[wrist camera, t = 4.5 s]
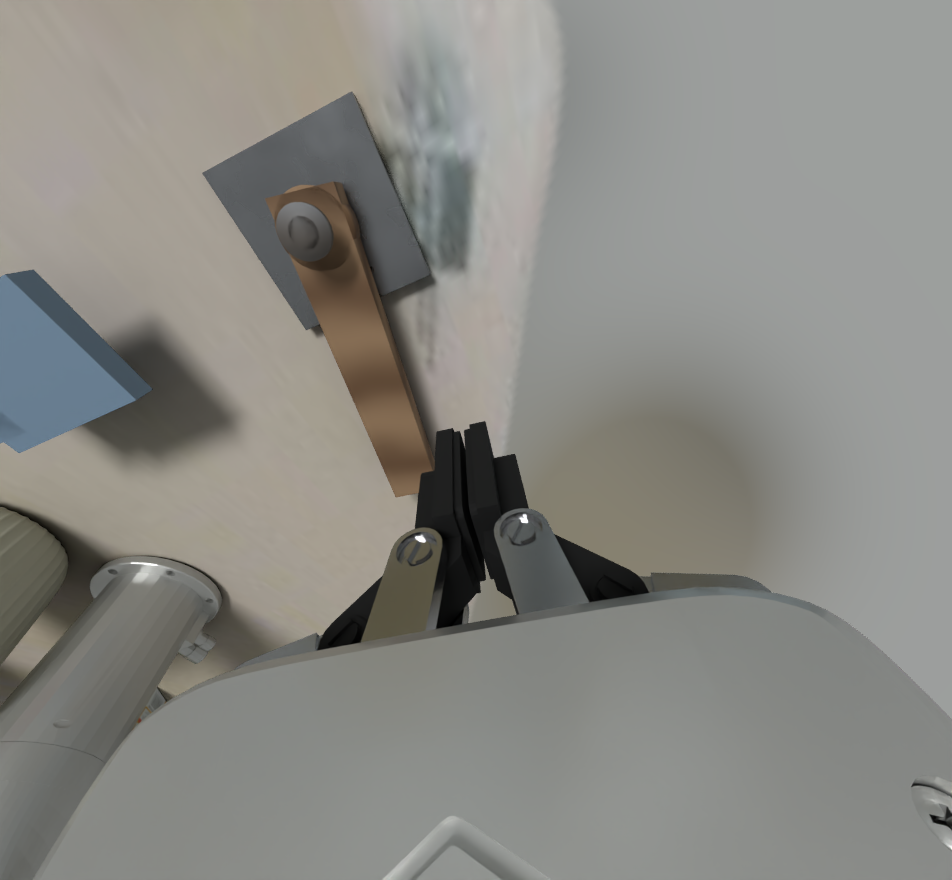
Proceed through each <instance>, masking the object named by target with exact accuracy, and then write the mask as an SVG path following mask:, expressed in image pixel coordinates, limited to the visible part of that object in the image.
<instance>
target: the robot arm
mask: <svg viewBox="0 0 952 880" xmlns="http://www.w3.org/2000/svg"><path fill="white" fill-rule="evenodd" d="M464 436H465V447H464V443H463V440H462V436H461V433H460V431H457V432H454V430H453V428H451V429H447V430H442V431H437V433H436V451H435V469H434V471H430V472H425V473H422V474H421V477H420V485H419V495H418V504H417V514H416V523H415V529H413V530H411V531H409V532H407V533H405V534H404V535H403V536H401V537H400V538H399V539H398V540H397V541H396V543H395V544H394V546H393V548H392V550H391V553H390V556H389V559H388V562H387V565H386V568H385V571H384V574H383V576H382V577H381V578H380V579H379V580H377V581H376V582H375V583H374V584H373V585H372V586H371V587H370V588H369V589H368V590H367V591H366V592H365V593H364V594H363V595H361V596H360V597H359V598H358V599H357V600H356V601H355V602H354V603H353V604H352V605H351V606H350V607H349V608H348V609H347V610H346V611H344V612H343V613H342V614H341V615H340V616H339V617H338V618H337V619H336V620H335V621H334V622H333V623H332V624H331V625H330V626H329V627H328V628H327V630H326V631H325V632H324V634H323V635H321V636H319V635H318V634H317V633H315V634H312V635H310V636H307V637H305V638H302V639H300V640H297V641H295V642H293V643H290V644H288V645H285V646H283V647H280V648H278V649H275V650H273V651H270V652H268V653H266V654H263V655H261V656H258V657H256V658H253V659H251V660H248V661H246V662H245V663H243V664H241V665H239V666H238V667H237V668H235V669H234V670H233V671H230V672H227V673H224V674H221V675H218V676H216V677H214V678H212V679H209V680H207V681H205V682H202V683H200V684H198V685H196V686H194V687H192V688H190V689H189V690H187V691H185V692H183V693H181V694H180V695H178V696H176V697H174V698H172V699H171V700H169V701H168V702H166V703H165V704H163V705H161V706H160V707H159V708H157V709H156V710H155V711H153V712H152V713H150V714H149V715H148V716H147V717H146V718H144V719H143V720H142V721H141V722H140V723H139V724H138V725H137V726H136V727H135V728H134V729H133V727H134V726H135V724H136V722H137V721H138V719H139V717H140V715H141V714H142V712H143V710H144V709H145V707H146V705H147V704H148V702H149V700H150V698H151V697H152V695H153V693H154V692H155V690H156V688H157V687H158V685H159V683H160V682H161V680H162V678H163V677H164V675H165V673H166V671H167V670H168V668H169V666H170V665H171V663H172V661H173V660H174V658H175V656H176V655H177V653H179V654H181V655H182V656H183V657H184V658H186V659H188V660H189V661H191V662H193V663H195V664H196V663H199V662H200V661H202V660H203V659H204V658H205V656H206V655H207V653H208V651H209V650H211V649H212V648H213V647H214V645H215V644H216V639H214V638H212V637H211V636H209V635H206V634H205V633H203V629H202V628H203V626H204V624H206V623H208V622H210V621H211V620H212V619H213V618H214V617H215V616H216V614H217V613H218V611H219V609H220V607H221V604H222V597H221V593H220V591H219V590H218V588H217V586H216V585H215V584H214V583H213V582H212V581H211V580H210V579H209V578H208V577H206V576H205V575H204V574H202V573H201V572H199V571H197V570H195V569H193V568H191V567H189V566H187V565H184V564H182V563H179V562H175V561H172V560H169V559H163V558H158V557H149V556H130V557H124V558H119V559H115V560H112V561H110V562H108V563H106V564H105V565H103V566H102V567H101V568H100V569H99V570H98V571H97V572H96V573H95V574H94V575H93V577H92V579H91V580H90V591H91V594H92V596H93V597H94V600H93V601H92V603H91V604H90V605H89V606H88V607H87V608H86V609H85V611H84V612H83V613H82V614H81V615H80V616H79V617H78V619H77V620H76V621H75V622H74V623H73V624H72V625H71V626H70V628H69V629H68V630H67V631H66V632H65V633H64V634H63V636H62V637H61V638H60V639H59V640H58V641H57V642H56V644H55V645H54V646H53V647H52V648H51V649H50V650H49V652H48V653H47V654H46V655H45V656H44V657H43V658H42V660H41V661H40V662H39V663H38V664H37V665H36V666H35V668H34V669H33V670H32V671H31V672H30V673H29V674H28V676H27V677H26V678H25V679H24V680H23V681H22V682H21V683H20V685H19V686H18V687H17V688H16V689H15V690H14V691H13V693H12V694H11V695H10V696H9V697H8V698H7V699H6V701H5V702H4V703H3V704H2V705H1V706H0V880H952V719H951V718H950V717H949V716H948V715H947V714H946V713H945V712H944V711H943V710H942V709H941V708H940V707H939V706H938V705H937V704H936V703H935V702H934V701H933V700H932V699H931V698H930V697H929V696H928V695H927V694H926V693H925V692H924V691H923V690H922V689H921V688H920V687H919V686H918V685H917V684H916V683H915V682H914V681H913V680H912V679H911V678H910V677H909V676H908V675H907V674H906V673H905V672H904V671H903V670H902V669H901V668H900V667H899V666H897V664H895V663H894V662H893V661H892V660H891V659H890V658H889V657H888V656H887V655H886V654H885V653H884V652H883V651H881V650H880V649H879V648H878V647H877V646H876V645H875V644H873V643H872V642H871V641H870V640H869V639H868V638H866V637H865V636H864V635H863V634H861V633H860V632H859V631H858V630H856V629H855V628H854V627H852V626H851V625H850V624H848V623H847V622H846V621H844V620H842V619H841V618H839V617H838V616H836V615H834V614H833V613H831V612H829V611H828V610H826V609H823V608H821V607H819V606H816V605H814V604H812V603H810V602H806V601H803V600H800V599H797V598H793V597H789V596H785V595H781V594H777V593H772V592H771V591H770V590H769V589H767V588H766V587H765V586H763V585H762V584H761V583H759V582H757V581H755V580H753V579H750V578H748V577H744V576H738V575H720V574H719V575H718V574H683V573H651V577H642V576H638V575H636V574H635V573H633V572H632V571H630V570H629V569H627V568H624V567H622V566H620V565H618V564H616V563H614V562H612V561H610V560H608V559H605V558H604V557H601V556H599V555H597V554H595V553H593V552H591V551H589V550H587V549H585V548H582V547H580V546H578V545H576V544H574V543H571V542H570V541H567V540H565V539H563V538H561V537H559V536H557V535H555V534H554V533H553V532H552V530H551V527H550V526H549V524H548V522H547V520H546V519H545V517H544V516H543V515H542V514H540V513H539V512H537V511H535V510H532V509H529V508H528V504H527V500H526V496H525V492H524V488H523V484H522V480H521V476H520V472H519V468H518V464H517V460H516V456H515V454H511V455H507V456H502V457H497V458H494V456H493V452H492V448H491V443H490V439H489V435H488V431H487V426H486V422H485V421H484V422H479V423H475V424H470V429H467V430H464ZM484 559H485V563H486V566H487V569H488V572H489V575H490V578H491V579H494V580H495V583H496V587H497V590H498V591H500V592H501V593H503V594H504V595H506V596H507V597H509V598H510V599H512V601H513V605H514V608H515V611H516V615H513V616H508V617H502V618H496V619H490V620H485V621H480V622H474V623H468V619H469V606H468V603H469V602H470V600H471V599H472V598H473V597H474V596H475V595H476V593H481V590H480V581H485V580H486V575H485V564H484ZM132 729H133V730H132Z"/></svg>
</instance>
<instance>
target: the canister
mask: <svg viewBox="0 0 952 880" xmlns="http://www.w3.org/2000/svg"><path fill="white" fill-rule="evenodd" d="M67 569H68V557H67V554H66V553H65V549H64V547H62V546H61V543H60V541H58V540H56V539H55V537H54V535H52V534H50V533H49V532H48V531H47V529H45V528H43V527H41V526H40V525H39V524H38V523H36V522H33V521H31V520H30V519H29V518H28V517H24V516H22V515H20V514H18V513H17V512H13V511H10V510H7V509H6V508H4V507H0V665H1V664H2V663H3V661H4V660H5V659H6V658H7V657H8V655H9V654H10V653H11V652H12V650H13V649H14V648H15V646H16V645H17V644H18V643H19V641H20V640H21V639H22V638H23V636H24V635H25V634H26V633H27V631H28V630H29V629H30V627H31V626H32V625H33V624H34V622H35V621H36V620H37V618H38V617H39V616H40V614H41V613H42V612H43V610H44V609H45V608H46V607H47V605H48V604H49V603H50V601H51V600H52V599H53V597H54V596H55V594H56V593H57V591H58V590H59V588H60V587H61V585H62V583H63V582H64V580H65V577H66V574H67Z"/></svg>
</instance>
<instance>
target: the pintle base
mask: <svg viewBox="0 0 952 880" xmlns="http://www.w3.org/2000/svg"><path fill="white" fill-rule="evenodd" d="M203 175H204V176H205V178H206V180H207V181H208V183H209V184H210V186H211V187H212V189H213V190H214V192H215V193H216V195H217V196H218V198H219V199H220V201H221V202H222V204H223V205H224V207H225V208H226V210H227V211H228V213H229V214H230V216H231V217H232V219H233V220H234V222H235V223H236V225H237V226H238V228H239V229H240V231H241V232H242V234H243V235H244V237H245V238H246V240H247V241H248V243H249V244H250V246H251V247H252V249H253V251H254V252H255V254H256V255H257V257H258V258H259V260H260V261H261V263H262V264H263V266H264V267H265V269H266V270H267V272H268V273H269V275H270V276H271V278H272V279H273V281H274V282H275V284H276V285H277V287H278V288H279V290H280V291H281V293H282V294H283V296H284V297H285V299H286V300H287V302H288V303H289V305H290V306H291V308H292V309H293V311H294V312H295V314H296V315H297V317H298V318H299V320H300V321H301V323H302V325H303V326H304V328H305V329H306V330H308V329H310V328H312V327H314V326H317V325H319V324H320V323H319V321H318V319H317V316H316V314H315V312H314V310H313V307H312V305H311V303H310V301H309V298H308V296H307V294H306V291H305V289H304V287H303V285H302V282H301V280H300V278H299V275H298V273H297V271H296V269H295V266H294V264H293V262H292V259H291V257H290V255H289V254H288V253H287V252H286V250H285V249H284V247H283V246H282V244H281V242H280V240H279V238H278V235H277V232H276V228H275V221H274V218H273V216H272V214H271V212H270V209H269V207H268V205H267V202H266V200H265V198H269V197H273V196H277V195H281V194H284V193H285V192H286V191H287V190H289V189H290V188H292V187H295V186H298V185H313V186H317V185H321V184H325V183H329V182H333V181H334V182H340V183H342V185H343V188H344V191H345V194H346V197H347V200H348V203H349V205H350V206H351V208H352V209H353V211H354V213H355V215H356V218H357V220H358V224H359V229H360V239H361V242H362V245H363V248H364V251H365V254H366V257H367V260H368V263H369V266H370V269H371V272H372V275H373V278H374V281H375V284H376V287H377V290H378V293H379V296H380V297H381V296H384V295H386V294H388V293H390V292H392V291H395V290H397V289H399V288H401V287H404V286H406V285H408V284H410V283H413V282H415V281H417V280H419V279H421V278H424V277H426V276H428V275H430V274H431V272H430V270H429V267H428V265H427V263H426V260H425V258H424V256H423V253H422V251H421V249H420V246H419V244H418V242H417V239H416V237H415V235H414V232H413V230H412V228H411V225H410V223H409V221H408V218H407V216H406V214H405V211H404V209H403V207H402V204H401V202H400V200H399V197H398V195H397V193H396V190H395V188H394V186H393V183H392V181H391V178H390V176H389V174H388V171H387V169H386V167H385V164H384V162H383V160H382V157H381V155H380V153H379V150H378V148H377V146H376V143H375V141H374V139H373V136H372V134H371V132H370V129H369V127H368V125H367V122H366V120H365V118H364V115H363V113H362V111H361V108H360V106H359V104H358V101H357V99H356V97H355V95H354V93H353V92H350V93H348V94H346V95H344V96H342V97H341V98H339V99H337V100H335V101H333V102H331V103H330V104H328V105H326V106H324V107H322V108H321V109H319V110H317V111H315V112H313V113H311V114H310V115H308V116H306V117H304V118H302V119H300V120H299V121H297V122H295V123H293V124H291V125H289V126H288V127H286V128H284V129H282V130H280V131H278V132H277V133H275V134H273V135H271V136H269V137H267V138H266V139H264V140H262V141H260V142H258V143H256V144H255V145H253V146H251V147H249V148H247V149H245V150H244V151H242V152H240V153H238V154H236V155H234V156H233V157H231V158H229V159H227V160H225V161H223V162H222V163H220V164H218V165H216V166H214V167H212V168H211V169H209V170H207V171H205V172H203Z"/></svg>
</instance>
